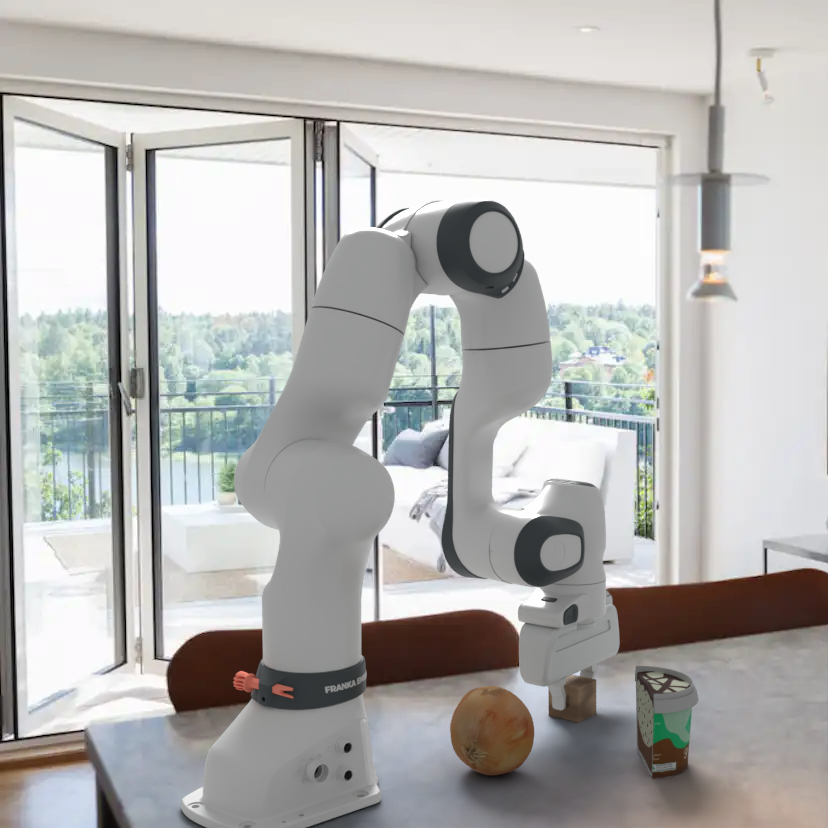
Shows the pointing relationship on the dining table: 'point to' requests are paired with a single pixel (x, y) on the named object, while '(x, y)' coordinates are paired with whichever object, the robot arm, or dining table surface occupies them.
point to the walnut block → (577, 699)
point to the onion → (492, 730)
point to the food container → (664, 719)
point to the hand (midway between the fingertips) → (572, 702)
